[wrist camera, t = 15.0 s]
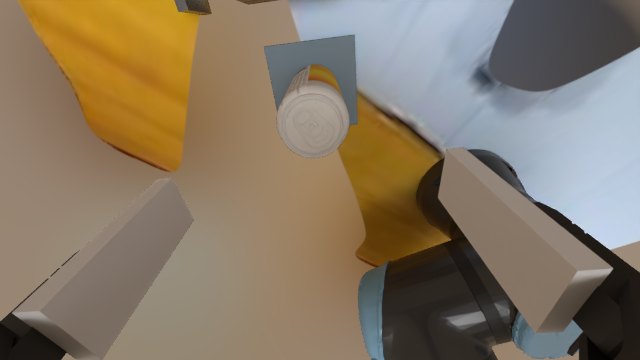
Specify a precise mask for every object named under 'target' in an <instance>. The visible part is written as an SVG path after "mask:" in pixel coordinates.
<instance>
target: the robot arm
mask: <svg viewBox="0 0 640 360" xmlns="http://www.w3.org/2000/svg"><path fill="white" fill-rule="evenodd" d="M417 204H418V207H419V209H420V211H421V212H422V214H423V216H424V217H425V219H426V220H427V221H428V222H429V223H430V224H431V225H433V226H434V227H436V228H438V229H439V230H440V231H441V232H442V233H444V234H445V235H446V236H447V237H449V238H450V239H451V241H448V242H445V243H442V244H439V245H436V246H434V247H431V248H428V249H425V250H423V251H420V252H417V253H414V254H411V255H409V256H406V257H403V258H400V259H398V260H395V261H392V262H391V261H387V262H386V263H385V264H384V265H381V266H379V267H377V268H374V269H372V270H370V271H368V272H366V273H365V274H364V275H363V277H362V278H361V281H360V284H359V291H358V309H359V319H360V325H361V330H362V335H363V339H364V342H365V346H366V349H367V352H368V354H369V356H370V357H371V359H372V360H498V359H497V357H496V356H495V354H494V352H493V350H492V346H495V345H498V344H502V343H506V342H510V341H513V342H514V343H515V345H516V347H517V348H519V349H520V350H522V351H523V352H524V353H525V354H526V355H528V356H530V357H532V358H537V359H544V358H547V357H548V358H551V359H552V358H553V359H554V358H559V357H564V356H567V355H571V356H573V355H574V354H575V353H577V352H579V360H640V272H638V271H637V270H635V269H634V268H633V267H631V266H630V265H629V264H627V263H626V262H624V261H623V260H622V259H621V258H619V257H618V256H617V255H616V254H614V253H613V252H612V251H610V250H609V249H608V248H606V247H605V246H604V245H602V244H601V243H600V242H598V241H597V240H596V239H594V238H593V237H592V236H590V235H589V234H588V233H586V234H585V233H584V230H582V229H581V228H580V227H578V226H577V225H576V224H572V221H570V220H569V219H568V218H566V217H565V216H564V215H562V214H561V213H560V212H558V211H557V210H555V209H553V208H551V207H549V206H546V205H544V204H542V203H540V202H537V201H535V200H534V199H533V198H532V197H530V196H529V195H528V194H527V193H526V191H525V189H524V187H523V185H522V183H521V182H520V180H519V179H518V177H517V174H516V172H515V171H514V169H513V167H512V166H511V165H510V164H509V163H508V162H506V161H505V160H504V159H502V158H501V157H499V156H498V155H496V154H494V153H492V152H489V151H485V150H466V149H465V148H453V149H446V154H445V159H443V160H441V161H440V162H438V163H437V164H436V165H435V166H433V167H432V168H431V169H430V170H429V171H428V172H427V173H426V175H425V176H424V177H423V179H422V181H421V183H420V185H419V187H418V191H417ZM193 221H194V220H193V217H192V215H191V213H190V211H189V209H188V207H187V205H186V204H185V201H184V200H183V198H182V196H181V194H180V192H179V190H178V188H177V186H176V184H175V182H174V180H173V178H162V179H157V180H156V181H155V182H154V183H153V184H151V186H149V187H148V188H147V189H146V190H145V191H144V192H143V193H142V194H141V195H139V196H138V197H137V198H136V199H135V200H134V201H133V202H132V203H131V204H130V205H129V206H128V207H126V208H125V209H124V210H123V211H122V212H121V213H120V214H119V215H118V216H117V217H116V218H114V219H113V220H112V221H111V222H110V223H109V224H108V225H107V226H106V227H105V228H104V229H103V230H102V231H100V232H99V233H98V234H97V235H96V236H95V237H94V238H93V239H92V240H91V241H90V242H88V243H87V244H86V245H85V246H84V247H83V248H82V249H81V250H79V251H78V252H77V253H75V254H74V255H73V256H72V257H71V258H69V259H68V260H67V261H66V262H65V263H64V264H63V265H62V267H61V268H59V269H57V270H56V271H55V272H54V273H53V274H52V275H51V277H50V278H49V279H47V280H45V282H43V283H42V284H41V285H40V286H39V287H38V288H37V289H36V290H34V291H33V293H31V294H30V295H29V296H28V297H27V298H26V299H25V300H24V301H22V302H21V303H20V304H19V305H18V306H17V307H16V308H15V309H14V310H13V311H12V312H10V313H9V314H8V315H7V316H6V317H5V318H4V319H3V320H2V321H0V360H61V359H62V358H63V356H64V355H65V354H66V353H68V354H69V355H71V356H72V357H73V358H75V359H76V360H102V359H103V358H104V356H105V355H106V353H107V352H108V350H109V349H110V347H111V345H112V344H113V343H114V341H115V340H116V338H117V337H118V335H119V334H120V332H121V330H122V329H123V327H124V326H125V324H126V323H127V321H128V320H129V318H130V317H131V315H132V314H133V312H134V311H135V309H136V308H137V306H138V305H139V303H140V302H141V300H142V299H143V297H144V295H145V294H146V292H147V291H148V289H149V288H150V286H151V285H152V283H153V282H154V280H155V279H156V277H157V276H158V274H159V273H160V271H161V269H162V268H163V266H164V265H165V263H166V262H167V260H168V259H169V257H170V256H171V254H172V253H173V251H174V250H175V248H176V247H177V245H178V244H179V242H180V241H181V239H182V238H183V236H184V235H185V233H186V232H187V230H188V228H189V227H190V225H191V224H192V222H193Z"/></svg>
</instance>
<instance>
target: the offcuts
mask: <svg viewBox="0 0 640 360" xmlns="http://www.w3.org/2000/svg"><path fill="white" fill-rule="evenodd" d="M238 1H240V2H243V3H246V4H255V3H261V2H269V1H276V0H238Z"/></svg>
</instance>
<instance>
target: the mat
mask: <svg viewBox="0 0 640 360" xmlns="http://www.w3.org/2000/svg"><path fill="white" fill-rule="evenodd" d="M264 50H265V55H266V59H267V64H268V69H269V74H270V79H271V84H272V88H273V93H274V98H275V103H276V108H277V112H278V109H279V106H280V104H281V102H282V100H283V98H284V96H285V94H286V92H287V90H288V88H289V86H290V84H291V82H292V80H293V78H294V76H295V74H296V73H297V72H298V71H299V70H300V69H302V68H303V67H305V66H308V65H321V66H323V67H326V68H327V69H328V70H330V71H331V72H332V73H333V75H334V76H335V78H336V81H337V83H338V86H339V89H340V91H341V94H342V97H343V99H344V102H345V105H346V107H347V110H348V114H349V125H355V124H357V93H356V62H355V35H348V36H341V37H333V38H326V39H318V40H310V41H303V42H296V43H287V44H280V45H273V46H265V47H264Z"/></svg>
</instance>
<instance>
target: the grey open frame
mask: <svg viewBox="0 0 640 360" xmlns="http://www.w3.org/2000/svg"><path fill="white" fill-rule="evenodd" d="M174 1H175V3H176V6H177V9H178V12H185V13H192V14H200V15H207V14H211V10H210V6H209V3H208V0H174Z"/></svg>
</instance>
